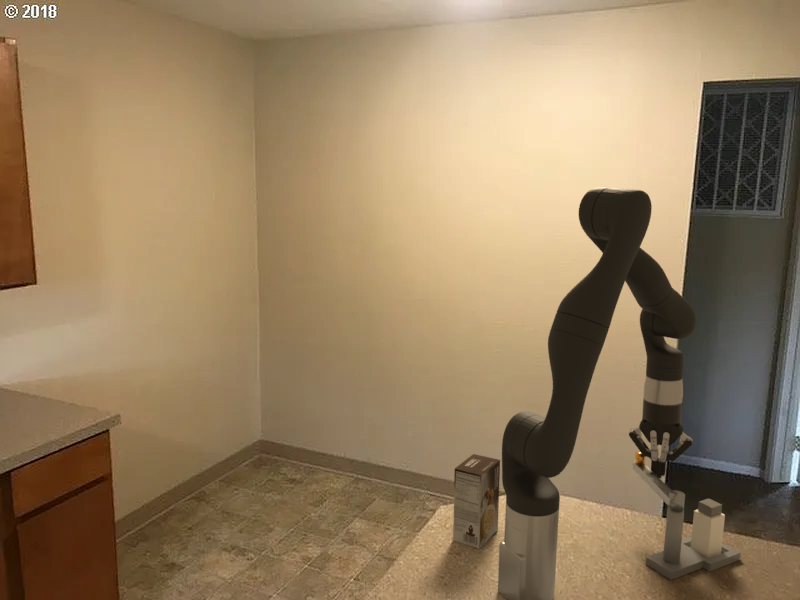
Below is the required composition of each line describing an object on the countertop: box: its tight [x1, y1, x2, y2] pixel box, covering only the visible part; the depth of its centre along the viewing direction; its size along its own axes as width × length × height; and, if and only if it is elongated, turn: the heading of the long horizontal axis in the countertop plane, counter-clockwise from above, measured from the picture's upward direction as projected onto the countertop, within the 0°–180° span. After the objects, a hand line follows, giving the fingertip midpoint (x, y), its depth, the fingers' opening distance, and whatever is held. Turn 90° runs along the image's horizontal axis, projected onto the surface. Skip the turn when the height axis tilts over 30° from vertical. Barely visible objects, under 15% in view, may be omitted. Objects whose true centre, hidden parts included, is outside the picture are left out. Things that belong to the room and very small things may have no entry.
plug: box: [691, 498, 726, 558], centre depth 135 cm, size 4×4×11 cm
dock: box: [645, 507, 742, 580], centre depth 133 cm, size 18×9×12 cm, turn 118°
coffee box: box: [452, 453, 501, 550], centre depth 141 cm, size 9×6×16 cm
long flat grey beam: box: [632, 450, 686, 512], centre depth 137 cm, size 19×3×4 cm, turn 4°
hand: (658, 476), depth 143 cm, fingers closed
